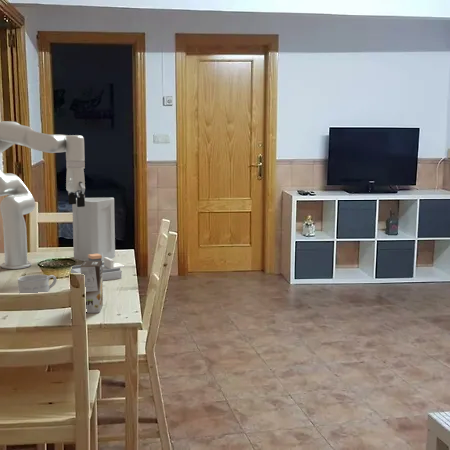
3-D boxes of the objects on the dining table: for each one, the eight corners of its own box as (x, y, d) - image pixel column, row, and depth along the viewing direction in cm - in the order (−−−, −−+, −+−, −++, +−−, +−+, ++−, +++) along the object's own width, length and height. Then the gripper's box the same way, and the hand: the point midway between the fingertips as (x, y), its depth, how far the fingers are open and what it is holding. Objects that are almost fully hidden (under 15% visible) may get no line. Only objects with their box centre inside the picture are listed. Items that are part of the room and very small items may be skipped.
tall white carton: (73, 263, 286) (71, 201, 281) (74, 256, 300) (72, 198, 295) (116, 261, 290) (115, 201, 285) (114, 255, 304) (113, 197, 299)
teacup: (21, 303, 221) (20, 281, 220) (16, 296, 231) (15, 274, 229) (61, 299, 228) (60, 277, 226) (54, 292, 237) (53, 271, 236)
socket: (69, 275, 263) (69, 265, 263) (105, 270, 272) (105, 261, 272) (84, 283, 250) (84, 273, 250) (121, 278, 259) (121, 268, 259)
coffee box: (100, 313, 212) (99, 266, 209) (81, 313, 211) (79, 266, 208) (103, 305, 221) (102, 260, 218) (84, 305, 220) (83, 260, 217)
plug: (98, 274, 264) (97, 253, 263) (102, 277, 261) (101, 255, 259) (88, 276, 262) (88, 254, 260) (92, 278, 259) (92, 256, 257)
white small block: (103, 265, 267) (103, 257, 266) (117, 264, 270) (117, 255, 270) (110, 268, 261) (110, 260, 260) (124, 267, 264) (124, 258, 264)
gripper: (59, 164, 269) (60, 203, 272) (74, 166, 255) (75, 208, 258) (76, 163, 274) (77, 202, 276) (92, 165, 260) (92, 207, 262)
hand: (76, 205), depth 267 cm, fingers open, 9 cm apart
